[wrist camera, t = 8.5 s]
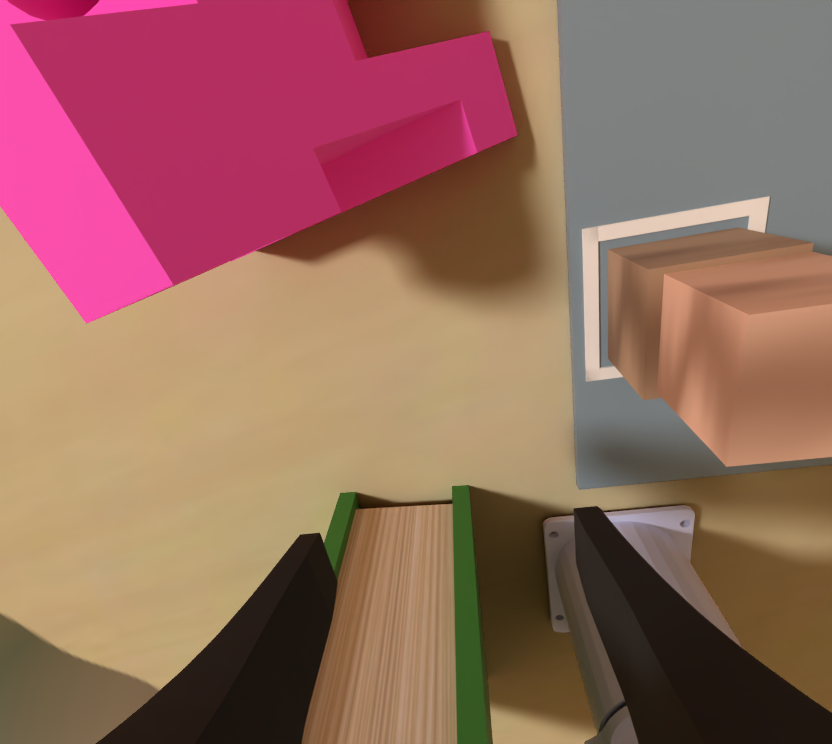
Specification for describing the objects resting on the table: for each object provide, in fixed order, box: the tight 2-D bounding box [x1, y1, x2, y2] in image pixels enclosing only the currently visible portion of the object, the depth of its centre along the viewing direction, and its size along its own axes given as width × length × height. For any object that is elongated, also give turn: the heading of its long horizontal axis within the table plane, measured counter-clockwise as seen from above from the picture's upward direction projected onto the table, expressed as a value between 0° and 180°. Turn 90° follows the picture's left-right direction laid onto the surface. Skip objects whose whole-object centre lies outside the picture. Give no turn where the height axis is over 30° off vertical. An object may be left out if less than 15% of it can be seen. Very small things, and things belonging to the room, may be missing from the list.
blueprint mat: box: [557, 0, 832, 490], centre depth 18 cm, size 22×20×1 cm
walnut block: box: [608, 227, 814, 400], centre depth 17 cm, size 5×5×4 cm
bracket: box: [0, 0, 518, 323], centre depth 12 cm, size 12×10×10 cm
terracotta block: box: [657, 252, 832, 467], centre depth 13 cm, size 4×4×4 cm
